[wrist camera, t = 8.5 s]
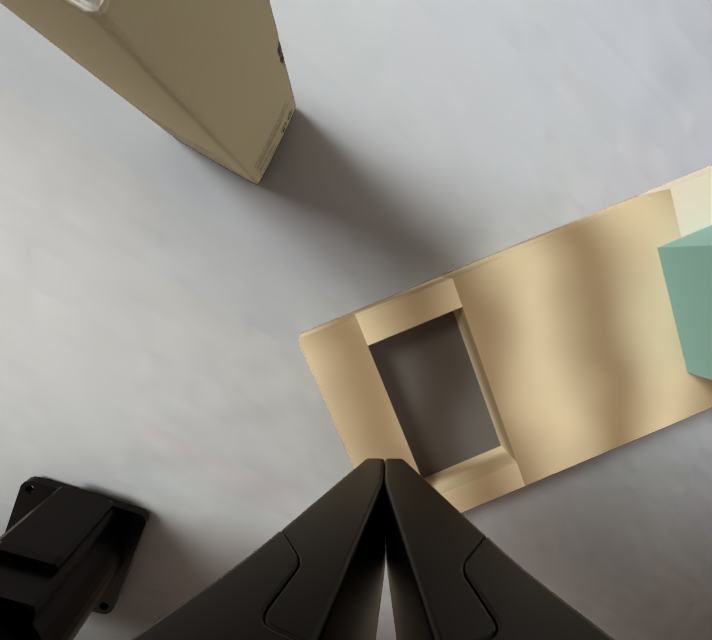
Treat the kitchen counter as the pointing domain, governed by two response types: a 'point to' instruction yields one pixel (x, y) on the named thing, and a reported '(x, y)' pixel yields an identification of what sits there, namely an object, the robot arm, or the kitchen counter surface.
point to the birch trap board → (516, 358)
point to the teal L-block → (691, 296)
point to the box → (183, 67)
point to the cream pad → (691, 200)
